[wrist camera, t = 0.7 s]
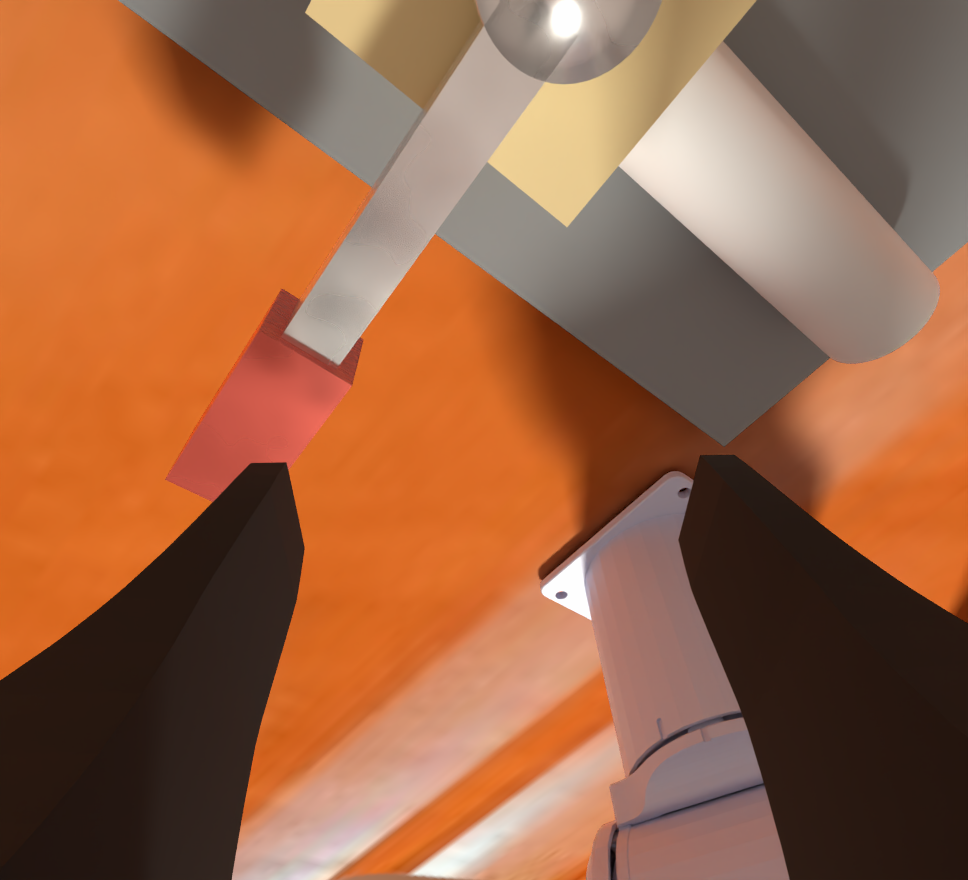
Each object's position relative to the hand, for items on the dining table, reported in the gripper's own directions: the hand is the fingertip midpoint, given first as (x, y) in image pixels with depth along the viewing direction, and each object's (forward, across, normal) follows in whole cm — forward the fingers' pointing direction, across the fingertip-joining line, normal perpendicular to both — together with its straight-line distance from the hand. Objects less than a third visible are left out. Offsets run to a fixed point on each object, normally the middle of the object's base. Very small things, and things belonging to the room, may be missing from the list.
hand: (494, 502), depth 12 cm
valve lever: (+4, +2, -3) cm, 6 cm away
